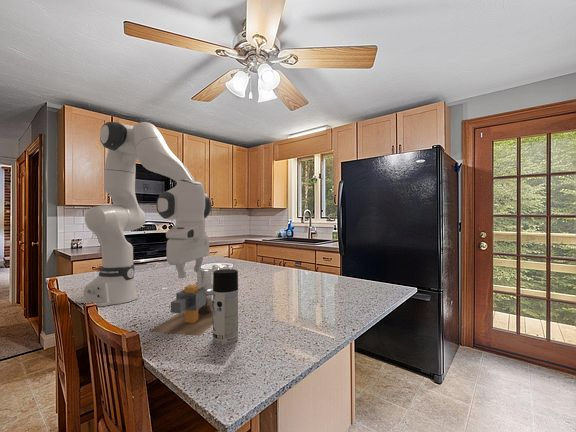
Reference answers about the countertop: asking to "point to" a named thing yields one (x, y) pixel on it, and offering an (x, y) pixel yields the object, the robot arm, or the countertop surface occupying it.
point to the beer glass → (218, 268)
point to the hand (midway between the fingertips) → (190, 274)
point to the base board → (186, 324)
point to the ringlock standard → (196, 296)
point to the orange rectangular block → (191, 315)
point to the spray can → (225, 306)
